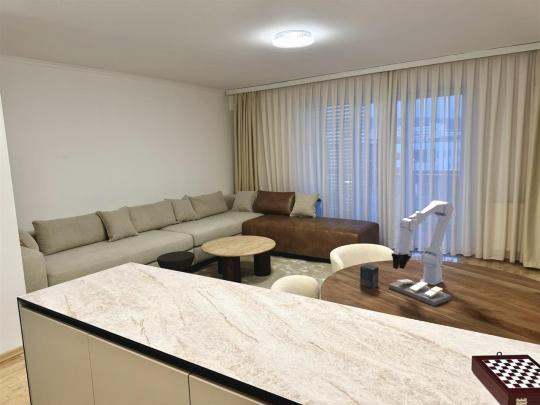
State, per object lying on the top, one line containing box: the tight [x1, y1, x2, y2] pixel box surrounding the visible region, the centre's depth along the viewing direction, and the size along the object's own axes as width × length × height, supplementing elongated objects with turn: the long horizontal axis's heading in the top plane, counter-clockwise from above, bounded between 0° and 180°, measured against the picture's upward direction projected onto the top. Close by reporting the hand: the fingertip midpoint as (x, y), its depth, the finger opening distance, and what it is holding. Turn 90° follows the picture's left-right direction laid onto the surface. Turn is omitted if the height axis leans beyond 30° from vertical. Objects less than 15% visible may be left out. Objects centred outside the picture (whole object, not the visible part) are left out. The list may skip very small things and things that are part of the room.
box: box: [359, 263, 379, 289], centre depth 189 cm, size 8×6×11 cm
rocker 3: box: [424, 285, 444, 297], centre depth 171 cm, size 9×4×1 cm, turn 121°
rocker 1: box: [396, 278, 415, 284], centre depth 185 cm, size 9×4×1 cm, turn 122°
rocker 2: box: [410, 281, 429, 292], centre depth 178 cm, size 9×4×1 cm, turn 121°
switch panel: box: [388, 278, 452, 307], centre depth 178 cm, size 13×26×2 cm, turn 32°
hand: (398, 268), depth 180 cm, fingers open, 7 cm apart
